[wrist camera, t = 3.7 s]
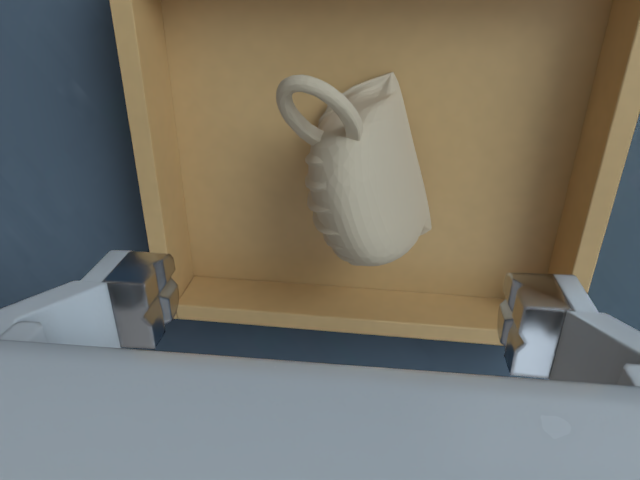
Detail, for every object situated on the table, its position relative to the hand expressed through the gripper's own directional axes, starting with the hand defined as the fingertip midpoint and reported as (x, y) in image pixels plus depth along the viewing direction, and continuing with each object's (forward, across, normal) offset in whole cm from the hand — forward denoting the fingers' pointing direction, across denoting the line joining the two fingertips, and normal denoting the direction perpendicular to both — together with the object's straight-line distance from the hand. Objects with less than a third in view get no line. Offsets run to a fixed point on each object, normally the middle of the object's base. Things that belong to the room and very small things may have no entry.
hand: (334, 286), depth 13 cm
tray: (+10, 0, 0) cm, 10 cm away
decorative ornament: (+10, 0, 0) cm, 10 cm away
